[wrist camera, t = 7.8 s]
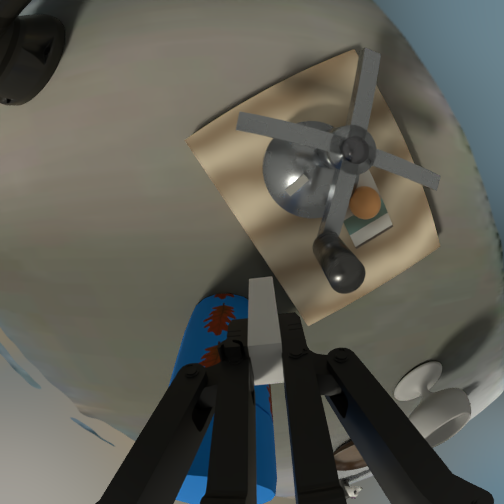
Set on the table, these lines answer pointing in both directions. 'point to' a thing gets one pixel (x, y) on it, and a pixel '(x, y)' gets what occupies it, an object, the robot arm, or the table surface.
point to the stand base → (306, 229)
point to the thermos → (206, 353)
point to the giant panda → (349, 489)
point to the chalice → (434, 404)
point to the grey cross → (329, 170)
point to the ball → (365, 202)
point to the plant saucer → (348, 458)
